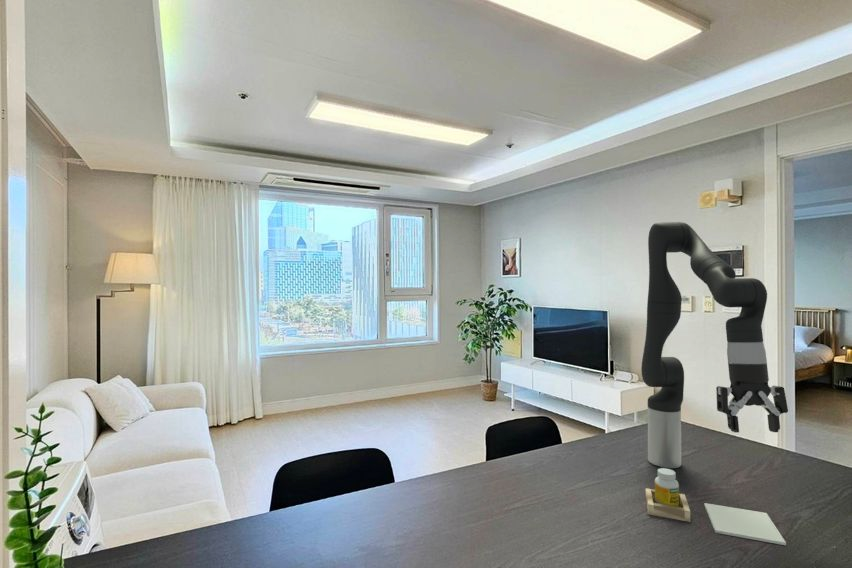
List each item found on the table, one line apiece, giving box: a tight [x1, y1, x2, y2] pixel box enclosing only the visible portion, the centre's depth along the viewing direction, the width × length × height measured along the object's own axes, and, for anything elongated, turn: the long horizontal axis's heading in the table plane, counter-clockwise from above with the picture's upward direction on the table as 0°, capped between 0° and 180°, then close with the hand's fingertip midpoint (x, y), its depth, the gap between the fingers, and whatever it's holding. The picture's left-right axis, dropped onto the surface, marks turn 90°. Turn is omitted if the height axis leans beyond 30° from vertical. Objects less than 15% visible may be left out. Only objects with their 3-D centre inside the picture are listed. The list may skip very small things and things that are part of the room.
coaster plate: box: [703, 502, 787, 546], centre depth 103 cm, size 13×13×1 cm
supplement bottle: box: [654, 467, 680, 507], centre depth 110 cm, size 5×5×10 cm
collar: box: [645, 487, 691, 523], centre depth 110 cm, size 9×9×2 cm
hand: (754, 431), depth 102 cm, fingers open, 8 cm apart
